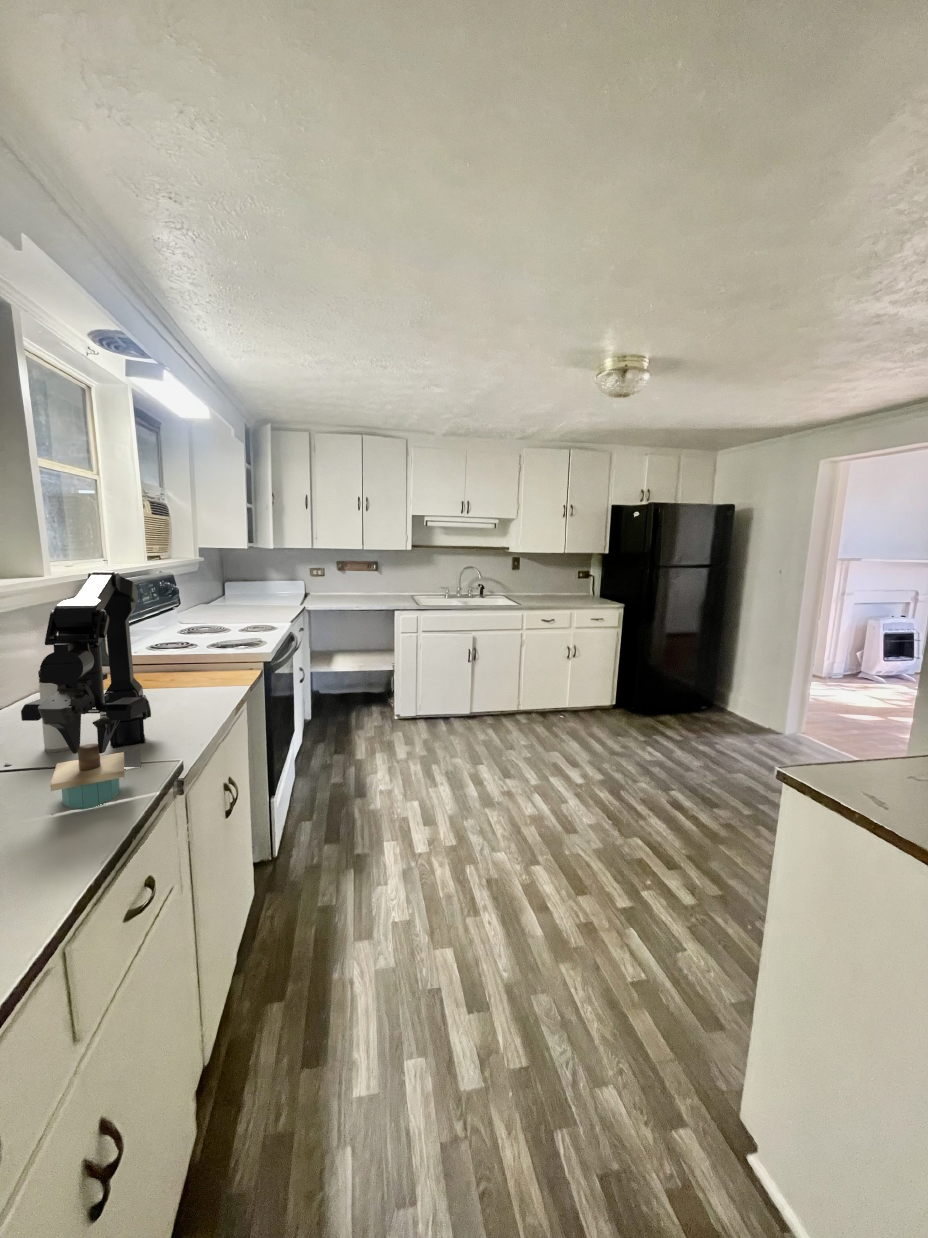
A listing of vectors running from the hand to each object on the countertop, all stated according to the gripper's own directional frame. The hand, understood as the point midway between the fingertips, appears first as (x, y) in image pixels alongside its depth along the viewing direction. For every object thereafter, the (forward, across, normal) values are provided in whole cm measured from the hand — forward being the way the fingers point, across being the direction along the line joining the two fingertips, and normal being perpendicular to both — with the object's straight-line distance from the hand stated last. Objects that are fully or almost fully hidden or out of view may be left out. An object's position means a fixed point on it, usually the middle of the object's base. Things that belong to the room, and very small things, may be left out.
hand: (89, 752), depth 92 cm
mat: (+9, -6, +15) cm, 18 cm away
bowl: (+9, 0, 0) cm, 9 cm away
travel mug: (+9, -22, +25) cm, 35 cm away
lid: (+4, 0, 0) cm, 4 cm away
